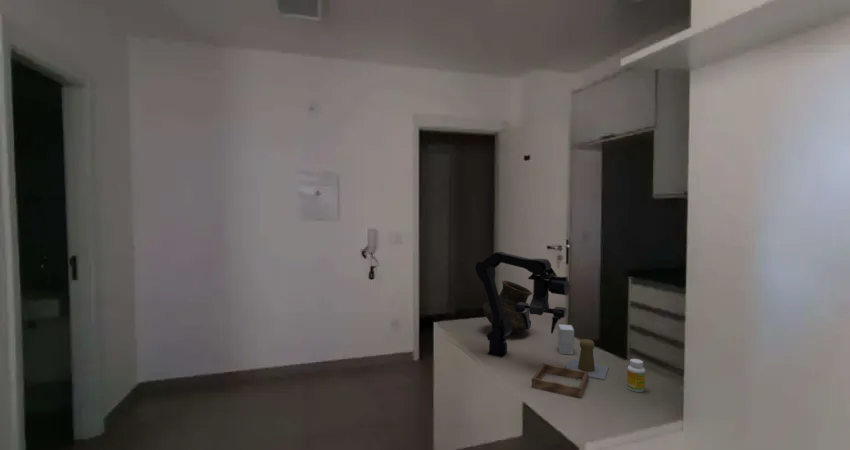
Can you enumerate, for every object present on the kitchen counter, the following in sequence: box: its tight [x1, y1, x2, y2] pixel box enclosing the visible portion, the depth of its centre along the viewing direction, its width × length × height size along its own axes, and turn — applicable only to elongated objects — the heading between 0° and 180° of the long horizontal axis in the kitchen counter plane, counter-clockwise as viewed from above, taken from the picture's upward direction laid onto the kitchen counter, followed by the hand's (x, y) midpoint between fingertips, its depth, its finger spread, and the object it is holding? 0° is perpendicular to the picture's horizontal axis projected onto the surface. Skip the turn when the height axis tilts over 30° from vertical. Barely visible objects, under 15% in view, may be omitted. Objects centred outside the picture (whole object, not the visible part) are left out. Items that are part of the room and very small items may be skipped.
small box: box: [557, 324, 575, 355], centre depth 180 cm, size 8×6×10 cm
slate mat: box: [565, 359, 610, 381], centre depth 160 cm, size 14×14×1 cm
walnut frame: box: [531, 363, 590, 399], centre depth 147 cm, size 16×16×3 cm
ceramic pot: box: [482, 280, 533, 334], centre depth 205 cm, size 24×24×22 cm
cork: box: [578, 338, 596, 372], centre depth 160 cm, size 6×6×11 cm
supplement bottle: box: [626, 358, 646, 393], centre depth 144 cm, size 5×5×10 cm
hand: (539, 331), depth 164 cm, fingers open, 9 cm apart
